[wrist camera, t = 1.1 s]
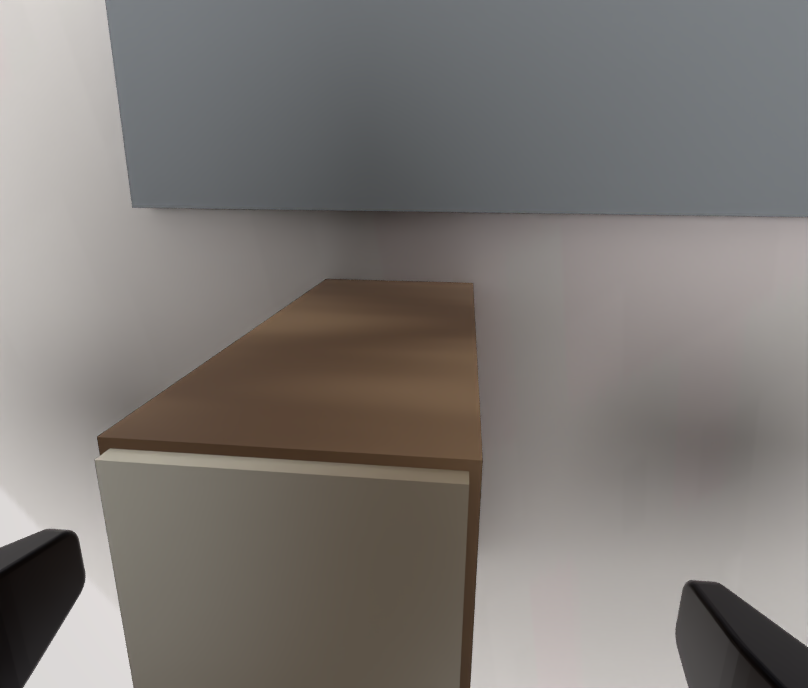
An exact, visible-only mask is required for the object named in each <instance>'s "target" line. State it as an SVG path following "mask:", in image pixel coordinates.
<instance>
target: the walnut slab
mask: <svg viewBox="0 0 808 688" xmlns="http://www.w3.org/2000/svg"><path fill="white" fill-rule="evenodd" d="M97 440H98V446H99V452H100V456H99V457H98V458H96V459H95V460H94V461H95V466H96V472H97V478H98V484H99V490H100V495H101V501H102V507H103V513H104V519H105V524H106V530H107V536H108V542H109V548H110V553H111V559H112V565H113V571H114V577H115V582H116V588H117V594H118V600H119V606H120V611H121V617H122V623H123V628H124V635H125V640H126V646H127V652H128V658H129V663H130V669H131V675H132V681H133V687H134V688H470V682H471V663H472V645H473V627H474V609H475V590H476V572H477V554H478V536H479V517H480V499H481V481H482V463H483V458H482V440H481V421H480V403H479V384H478V366H477V347H476V329H475V310H474V291H473V283H458V282H422V281H385V280H349V279H325V280H324V281H323V282H321V283H320V284H318V285H317V286H315V287H314V288H312V289H311V290H309V291H308V292H307V293H305V294H304V295H302V296H301V297H299V298H298V299H296V300H295V301H293V302H292V303H291V304H289V305H288V306H286V307H285V308H283V309H282V310H280V311H279V312H278V313H276V314H275V315H273V316H272V317H270V318H269V319H267V320H266V321H264V322H263V323H262V324H260V325H259V326H257V327H256V328H254V329H253V330H251V331H250V332H248V333H247V334H246V335H244V336H243V337H241V338H240V339H238V340H237V341H235V342H234V343H233V344H231V345H230V346H228V347H227V348H225V349H224V350H222V351H221V352H219V353H218V354H217V355H215V356H214V357H212V358H211V359H209V360H208V361H206V362H205V363H203V364H202V365H201V366H199V367H198V368H196V369H195V370H193V371H192V372H190V373H189V374H188V375H186V376H185V377H183V378H182V379H180V380H179V381H177V382H176V383H174V384H173V385H172V386H170V387H169V388H167V389H166V390H164V391H163V392H161V393H160V394H158V395H157V396H156V397H154V398H153V399H151V400H150V401H148V402H147V403H145V404H144V405H143V406H141V407H140V408H138V409H137V410H135V411H134V412H132V413H131V414H129V415H128V416H127V417H125V418H124V419H122V420H121V421H119V422H118V423H116V424H115V425H113V426H112V427H111V428H109V429H108V430H106V431H105V432H103V433H102V434H100V435H99V436H98V437H97Z"/></svg>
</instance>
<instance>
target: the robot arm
mask: <svg viewBox="0 0 808 688" xmlns="http://www.w3.org/2000/svg"><path fill="white" fill-rule="evenodd" d="M84 583H85V569H84V564H83V558H82V553H81V548H80V543H79V538H78V536H77V535H76V533H75V532H73V531H71V530H61V529H45V530H42V531H40V532H37V533H35V534H33V535H30V536H28V537H25V538H23V539H20V540H18V541H15V542H13V543H11V544H8V545H5V546H3V547H1V548H0V688H23V687H24V685H25V683H26V682H27V680H28V679H29V677H30V676H31V674H32V673H33V671H34V669H35V668H36V666H37V664H38V663H39V661H40V659H41V658H42V656H43V654H44V653H45V651H46V650H47V648H48V646H49V645H50V643H51V641H52V640H53V638H54V636H55V635H56V633H57V631H58V630H59V628H60V627H61V625H62V623H63V622H64V620H65V618H66V617H67V615H68V613H69V612H70V610H71V608H72V607H73V605H74V603H75V602H76V600H77V598H78V597H79V595H80V593H81V591H82V589H83V587H84ZM675 635H676V644H677V648H678V652H679V655H680V659H681V663H682V666H683V670H684V673H685V677H686V680H687V684H688V687H689V688H808V647H807V646H805V645H804V644H803V643H801V642H800V641H799V640H797V639H796V638H794V637H793V636H792V635H790V634H789V633H788V632H786V631H785V630H784V629H782V628H781V627H779V626H778V625H777V624H775V623H774V622H773V621H771V620H770V619H768V618H767V617H766V616H764V615H763V614H762V613H760V612H759V611H757V610H756V609H755V608H753V607H752V606H751V605H749V604H748V603H747V602H745V601H744V600H742V599H741V598H740V597H738V596H737V595H736V594H734V593H733V592H731V591H730V590H729V589H727V588H726V587H725V586H723V585H721V584H720V583H717V582H709V581H696V580H690V581H688V582H686V583H685V585H684V587H683V591H682V596H681V601H680V607H679V612H678V618H677V623H676V632H675Z"/></svg>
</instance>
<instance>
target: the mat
mask: <svg viewBox="0 0 808 688" xmlns="http://www.w3.org/2000/svg"><path fill="white" fill-rule="evenodd" d="M105 2H106V10H107V17H108V25H109V33H110V40H111V48H112V55H113V63H114V71H115V78H116V86H117V94H118V101H119V109H120V117H121V124H122V132H123V139H124V147H125V155H126V162H127V170H128V178H129V185H130V193H131V200H132V208H200V209H271V210H342V211H413V212H484V213H555V214H626V215H697V216H768V217H808V0H105Z"/></svg>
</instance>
